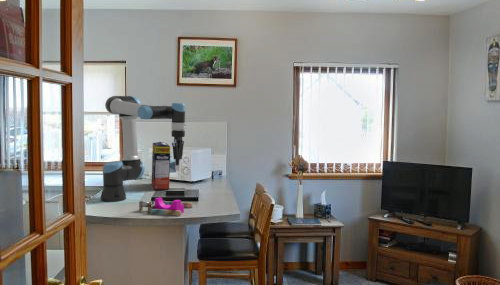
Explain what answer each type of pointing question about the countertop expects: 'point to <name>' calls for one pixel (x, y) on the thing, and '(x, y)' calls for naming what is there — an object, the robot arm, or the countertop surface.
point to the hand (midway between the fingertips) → (177, 170)
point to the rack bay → (168, 212)
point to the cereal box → (160, 166)
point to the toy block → (175, 205)
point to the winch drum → (145, 205)
